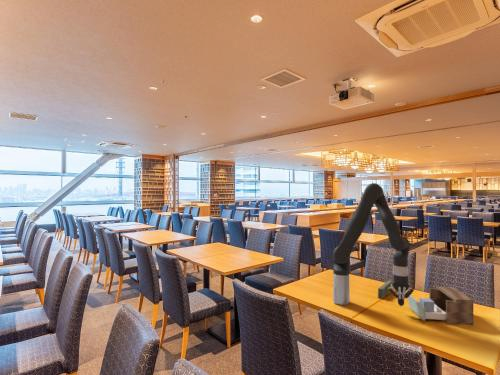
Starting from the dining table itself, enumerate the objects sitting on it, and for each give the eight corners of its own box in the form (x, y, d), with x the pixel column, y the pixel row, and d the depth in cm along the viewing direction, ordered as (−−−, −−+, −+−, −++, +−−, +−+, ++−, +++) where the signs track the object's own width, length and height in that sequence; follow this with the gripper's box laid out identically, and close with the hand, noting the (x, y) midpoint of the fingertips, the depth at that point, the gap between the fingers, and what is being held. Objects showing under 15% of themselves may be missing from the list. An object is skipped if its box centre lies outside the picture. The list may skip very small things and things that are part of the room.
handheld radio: (376, 298, 180) (389, 287, 199) (382, 300, 178) (394, 289, 196) (377, 287, 180) (389, 278, 198) (382, 289, 178) (394, 279, 196)
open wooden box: (447, 323, 145) (447, 298, 145) (429, 308, 164) (429, 286, 164) (473, 325, 144) (473, 300, 144) (452, 309, 162) (452, 287, 162)
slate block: (424, 312, 154) (424, 301, 154) (419, 308, 158) (419, 297, 158) (434, 313, 153) (434, 302, 153) (429, 309, 158) (429, 298, 158)
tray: (423, 320, 147) (423, 307, 147) (408, 305, 166) (408, 294, 166) (448, 322, 145) (448, 309, 145) (430, 306, 164) (430, 295, 164)
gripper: (410, 272, 160) (411, 303, 160) (385, 271, 162) (385, 302, 162) (416, 276, 153) (416, 308, 153) (390, 275, 155) (390, 307, 155)
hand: (400, 305), depth 158 cm, fingers closed
